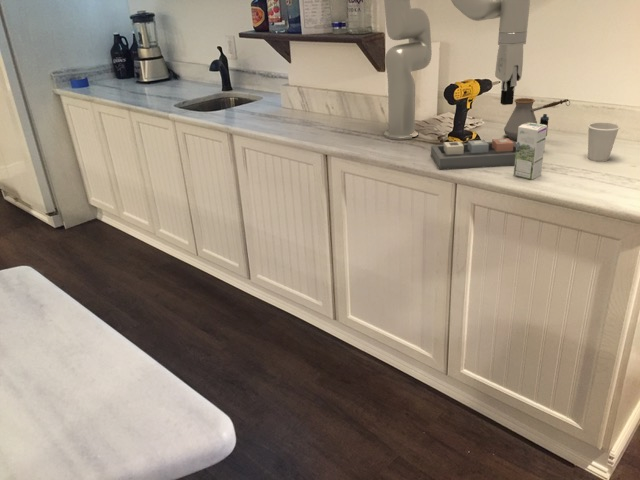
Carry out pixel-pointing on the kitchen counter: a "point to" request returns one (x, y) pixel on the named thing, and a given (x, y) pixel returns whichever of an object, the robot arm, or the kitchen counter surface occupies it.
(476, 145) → the key slate
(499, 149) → the key coral
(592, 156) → the dixie cup
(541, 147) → the syrup box
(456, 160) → the keypad base
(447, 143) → the key ivory
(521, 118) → the coffee pot
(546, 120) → the vaping device
